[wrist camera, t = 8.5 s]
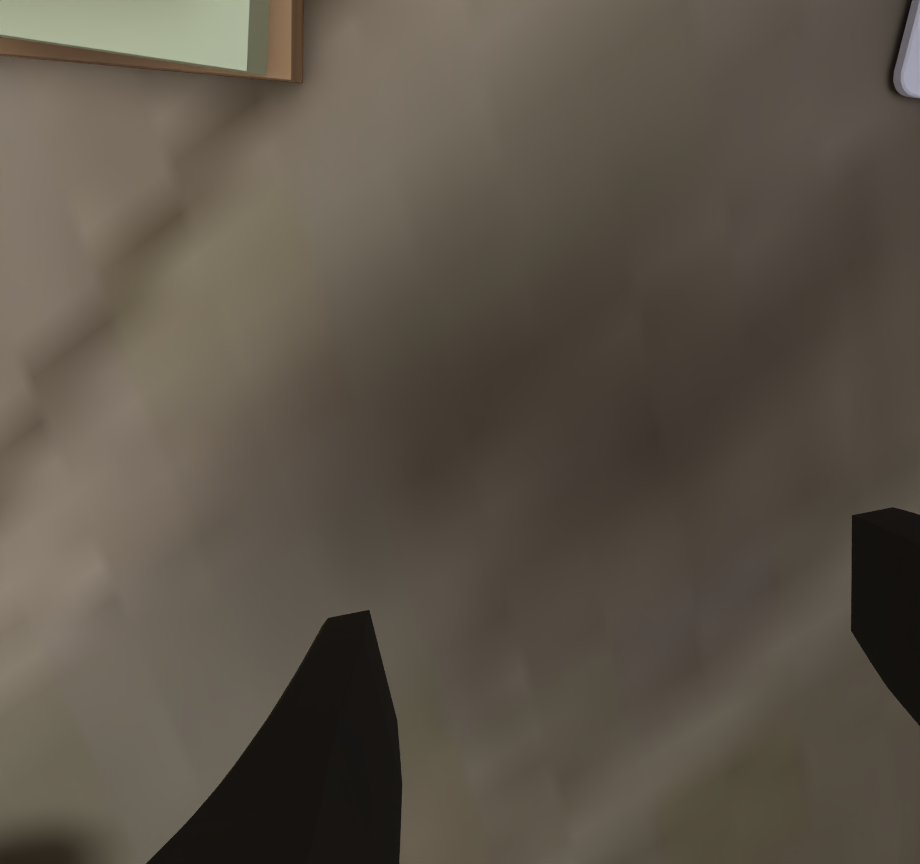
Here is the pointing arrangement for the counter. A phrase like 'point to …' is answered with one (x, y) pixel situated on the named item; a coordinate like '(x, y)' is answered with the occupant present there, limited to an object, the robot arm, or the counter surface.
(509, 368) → the counter surface
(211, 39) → the sage block
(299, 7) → the walnut slab
